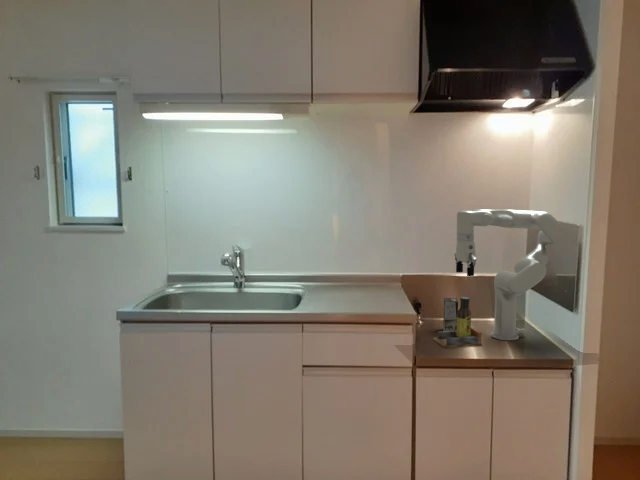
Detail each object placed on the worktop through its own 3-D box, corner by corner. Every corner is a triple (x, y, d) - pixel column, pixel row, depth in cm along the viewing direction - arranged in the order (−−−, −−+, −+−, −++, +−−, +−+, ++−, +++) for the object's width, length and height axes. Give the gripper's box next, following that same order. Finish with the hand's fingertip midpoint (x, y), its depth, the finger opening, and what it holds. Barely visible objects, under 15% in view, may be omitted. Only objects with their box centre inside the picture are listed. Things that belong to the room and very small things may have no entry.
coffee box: (457, 334, 229) (458, 302, 227) (443, 334, 230) (444, 301, 229) (456, 329, 238) (457, 297, 236) (442, 328, 239) (443, 297, 237)
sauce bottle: (468, 343, 214) (470, 300, 212) (454, 341, 217) (456, 298, 215) (471, 339, 220) (473, 297, 218) (458, 337, 223) (459, 295, 221)
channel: (469, 337, 225) (469, 325, 225) (481, 345, 213) (482, 333, 213) (433, 339, 222) (433, 327, 222) (444, 347, 210) (444, 335, 210)
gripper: (483, 238, 211) (482, 276, 213) (462, 235, 228) (462, 270, 230) (467, 239, 209) (467, 277, 211) (448, 236, 226) (448, 271, 228)
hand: (464, 274), depth 220 cm, fingers open, 9 cm apart
